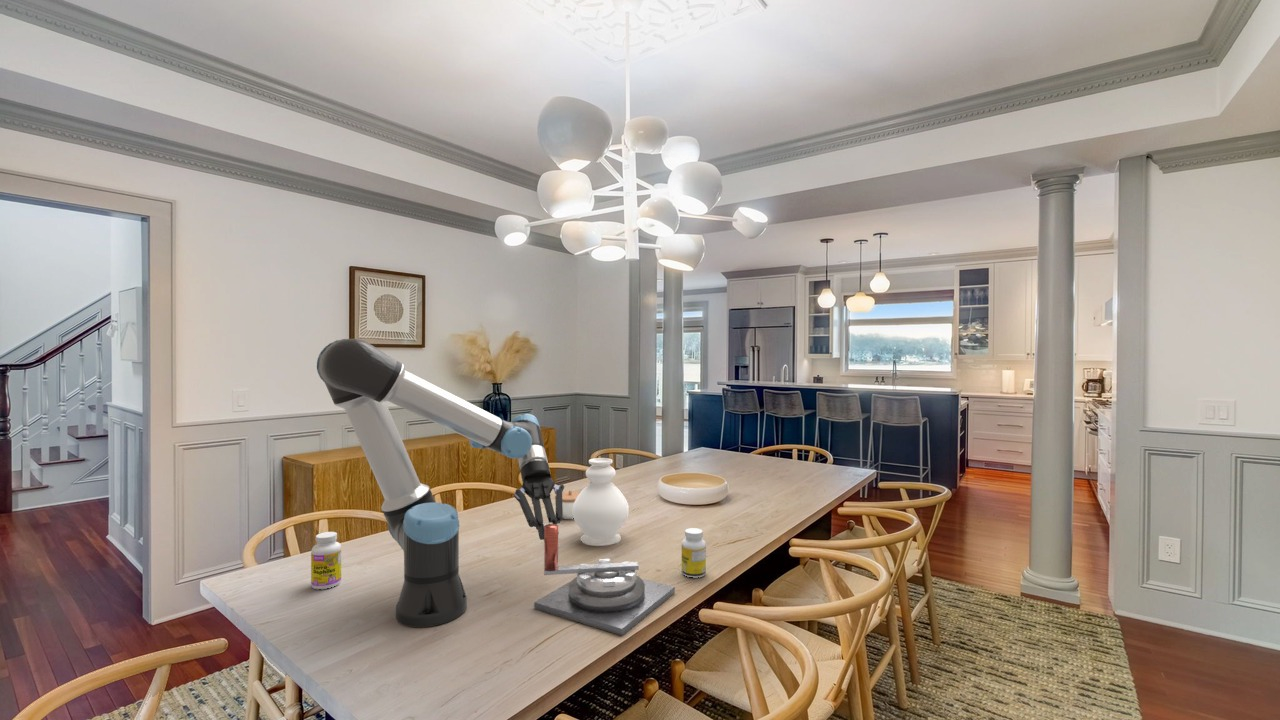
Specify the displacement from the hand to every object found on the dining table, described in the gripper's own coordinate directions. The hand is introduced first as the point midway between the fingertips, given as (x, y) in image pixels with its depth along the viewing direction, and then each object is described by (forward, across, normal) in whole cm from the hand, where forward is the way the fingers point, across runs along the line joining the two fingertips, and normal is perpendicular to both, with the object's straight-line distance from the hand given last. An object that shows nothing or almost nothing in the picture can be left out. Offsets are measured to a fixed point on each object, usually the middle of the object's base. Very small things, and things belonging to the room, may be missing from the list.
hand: (552, 550), depth 133 cm
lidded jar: (-34, -26, -52) cm, 67 cm away
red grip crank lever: (+9, -8, -1) cm, 12 cm away
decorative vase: (-15, -26, -33) cm, 45 cm away
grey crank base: (+13, -11, -3) cm, 18 cm away
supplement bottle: (-14, +49, -32) cm, 60 cm away
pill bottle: (+10, -38, -6) cm, 40 cm away
